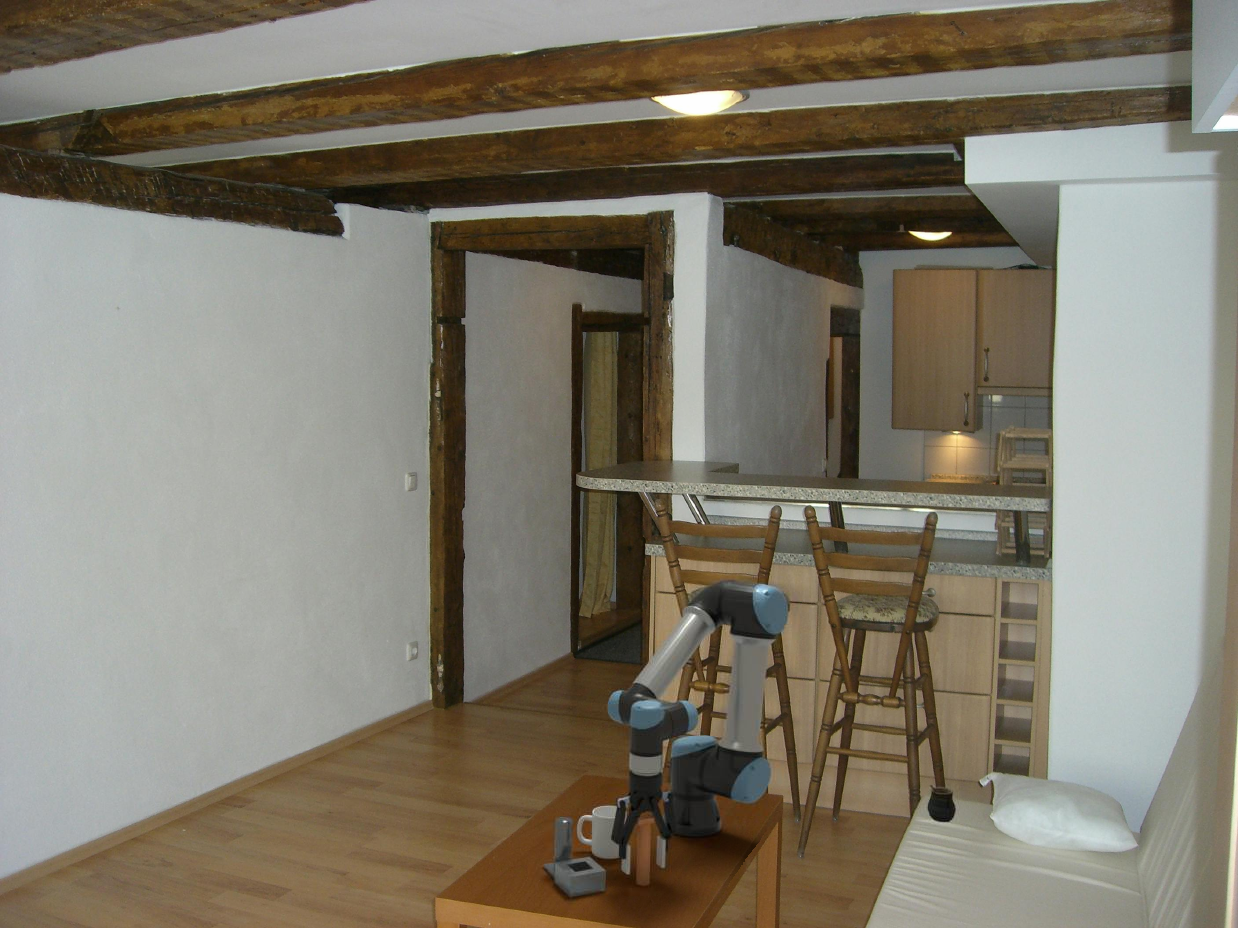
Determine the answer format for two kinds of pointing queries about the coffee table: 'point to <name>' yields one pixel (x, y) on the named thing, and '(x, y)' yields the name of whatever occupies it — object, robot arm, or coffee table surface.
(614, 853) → the cup
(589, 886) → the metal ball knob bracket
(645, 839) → the wedge pin
